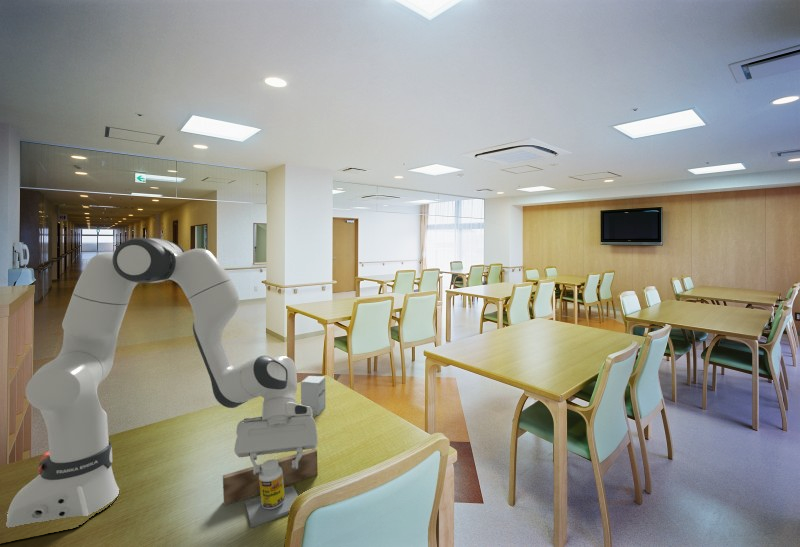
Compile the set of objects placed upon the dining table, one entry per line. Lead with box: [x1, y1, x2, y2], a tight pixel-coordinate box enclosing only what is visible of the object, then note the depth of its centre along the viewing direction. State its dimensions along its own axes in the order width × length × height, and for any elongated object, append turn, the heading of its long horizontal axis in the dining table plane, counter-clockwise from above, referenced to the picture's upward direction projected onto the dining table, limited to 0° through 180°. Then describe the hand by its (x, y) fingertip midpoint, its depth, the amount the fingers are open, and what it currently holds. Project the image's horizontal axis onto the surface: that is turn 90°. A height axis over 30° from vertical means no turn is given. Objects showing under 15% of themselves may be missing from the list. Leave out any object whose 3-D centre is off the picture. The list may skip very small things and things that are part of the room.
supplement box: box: [300, 375, 327, 416], centre depth 145 cm, size 7×7×13 cm
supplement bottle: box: [259, 458, 285, 509], centre depth 92 cm, size 6×6×10 cm
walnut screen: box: [222, 447, 319, 506], centre depth 99 cm, size 24×2×7 cm, turn 121°
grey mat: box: [244, 485, 299, 528], centre depth 92 cm, size 12×9×1 cm
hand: (276, 471), depth 91 cm, fingers open, 7 cm apart
